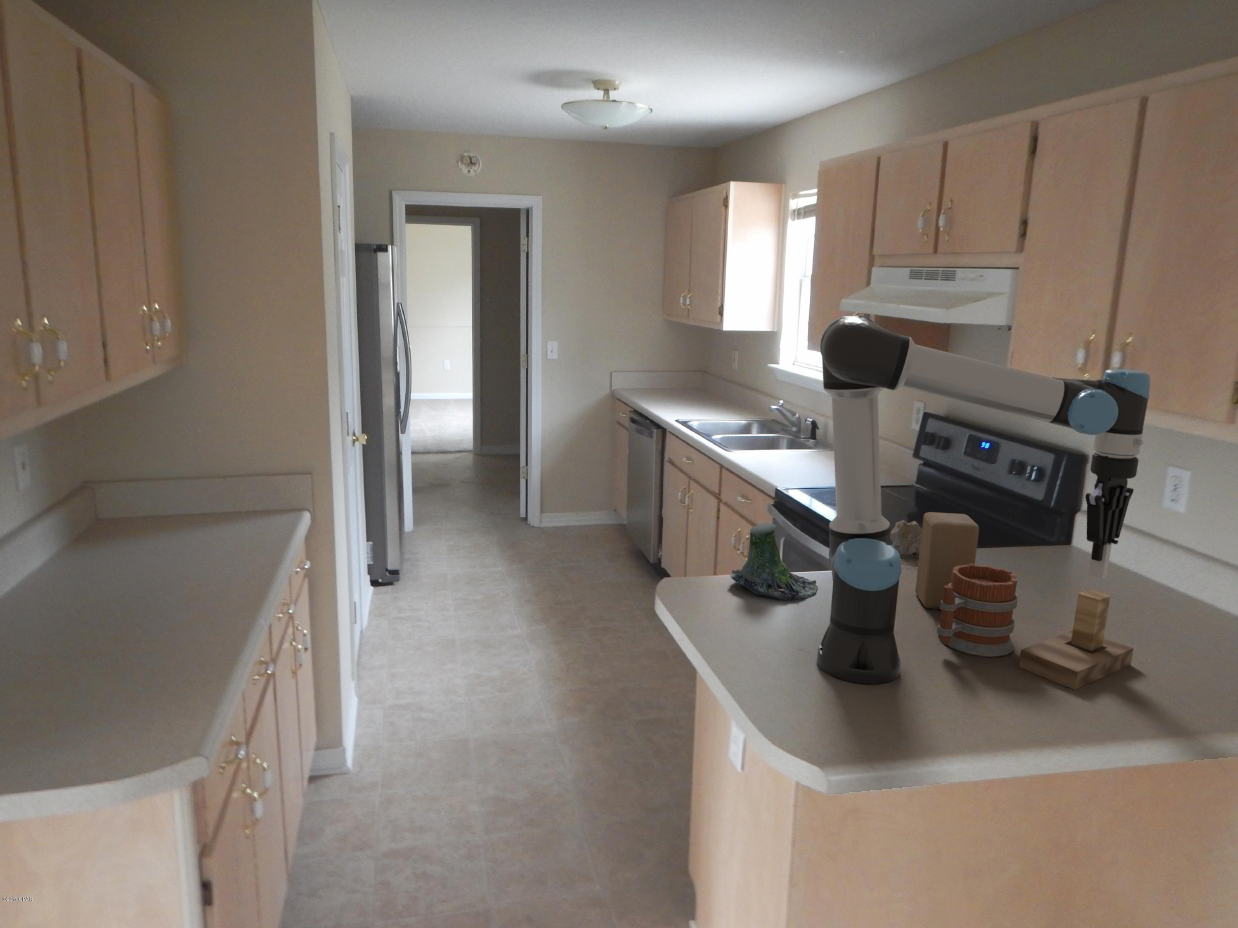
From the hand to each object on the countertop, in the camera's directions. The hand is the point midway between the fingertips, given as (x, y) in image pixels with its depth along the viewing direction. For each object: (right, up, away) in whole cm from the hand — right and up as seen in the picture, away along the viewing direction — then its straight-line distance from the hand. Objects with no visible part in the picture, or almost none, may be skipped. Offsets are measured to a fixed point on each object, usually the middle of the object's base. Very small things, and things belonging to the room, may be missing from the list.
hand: (1097, 575), depth 169 cm
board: (-3, -18, +2) cm, 18 cm away
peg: (-1, -17, +4) cm, 18 cm away
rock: (-13, -4, +66) cm, 67 cm away
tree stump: (-55, -8, +39) cm, 68 cm away
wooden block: (-18, -11, +33) cm, 39 cm away
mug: (-21, -16, +10) cm, 28 cm away
